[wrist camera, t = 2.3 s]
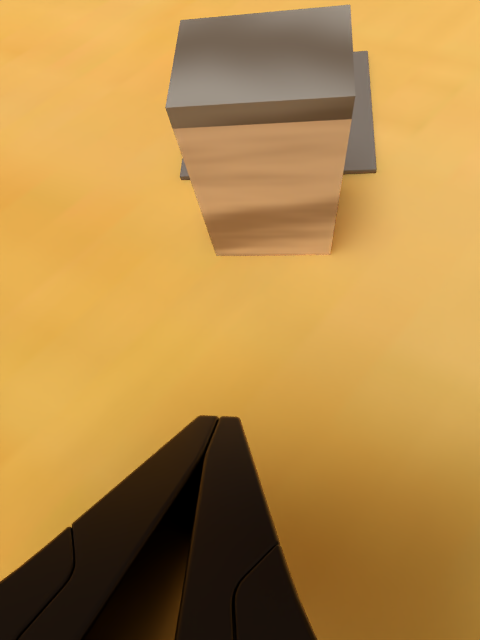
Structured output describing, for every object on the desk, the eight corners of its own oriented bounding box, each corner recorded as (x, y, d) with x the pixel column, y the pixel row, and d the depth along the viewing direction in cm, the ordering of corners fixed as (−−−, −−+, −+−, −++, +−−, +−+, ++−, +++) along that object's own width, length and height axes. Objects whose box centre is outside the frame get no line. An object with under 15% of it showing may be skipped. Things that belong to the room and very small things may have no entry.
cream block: (330, 254, 25) (355, 96, 14) (216, 255, 26) (165, 107, 15) (328, 187, 26) (350, 4, 16) (222, 191, 27) (180, 20, 17)
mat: (375, 172, 26) (376, 169, 26) (180, 179, 28) (179, 176, 28) (366, 54, 30) (367, 50, 30) (196, 67, 32) (195, 63, 32)
